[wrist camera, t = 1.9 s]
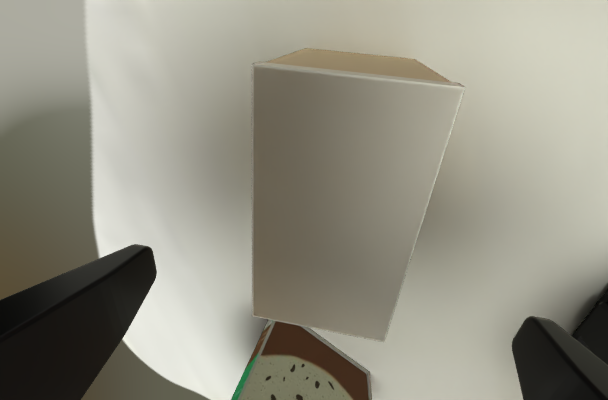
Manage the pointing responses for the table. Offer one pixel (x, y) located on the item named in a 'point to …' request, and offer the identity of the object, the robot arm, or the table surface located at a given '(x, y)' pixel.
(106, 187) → the table surface
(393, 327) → the table surface
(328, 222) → the carton
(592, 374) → the robot arm
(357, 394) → the food container
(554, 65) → the table surface
